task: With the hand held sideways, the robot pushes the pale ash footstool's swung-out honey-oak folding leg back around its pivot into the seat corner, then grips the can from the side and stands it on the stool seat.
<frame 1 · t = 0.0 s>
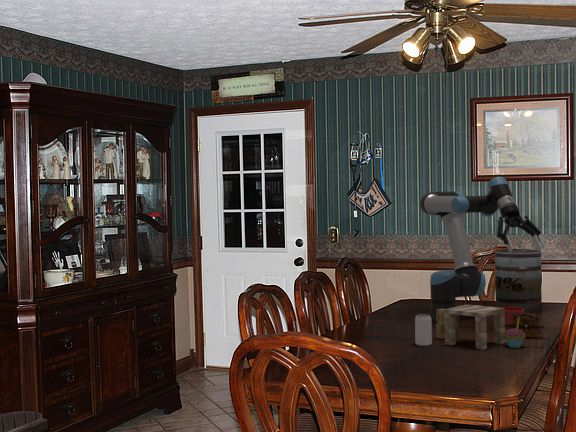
hand: (525, 249, 329), 36 cm above the table, tool tilted 35°, fingers open, 13 cm apart
can: (423, 344, 315), on the table
stool: (475, 343, 315), on the table
gate leg: (448, 325, 322), point 6 cm above the table, hinge at 65.0°
barrel: (518, 310, 399), on the table
cupcake: (514, 347, 307), on the table
flower pot: (511, 331, 342), on the table
wooden carving: (524, 337, 325), on the table
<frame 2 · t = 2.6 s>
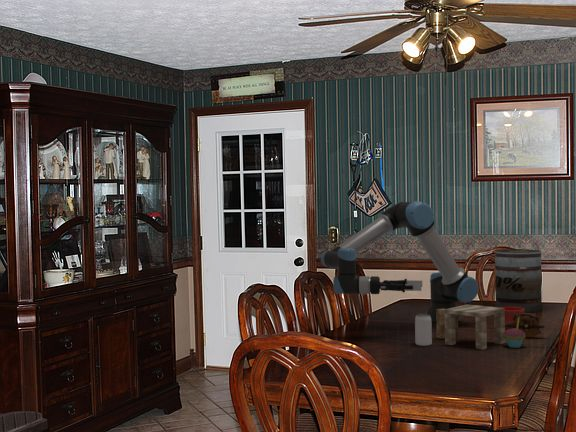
hand: (421, 285, 328), 22 cm above the table, tool horizontal, fingers open, 12 cm apart
nothing on the table moved.
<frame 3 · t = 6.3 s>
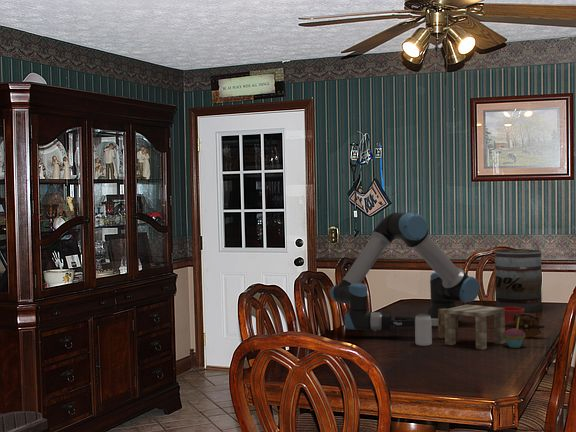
hand: (438, 322, 326), 7 cm above the table, tool horizontal, fingers closed
gate leg: (449, 325, 322), point 6 cm above the table, hinge at 60.3°, touching gripper
everything else where it was.
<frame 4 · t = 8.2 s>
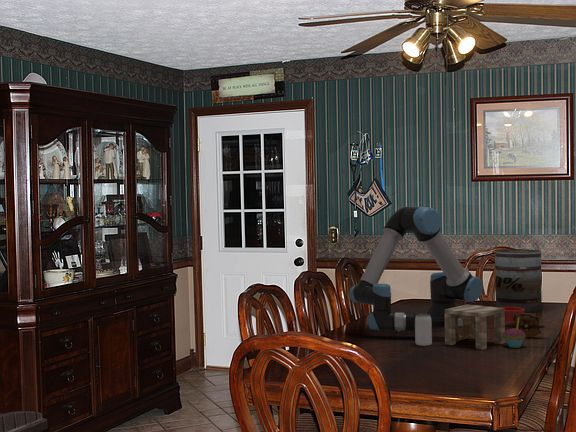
hand: (462, 322, 325), 7 cm above the table, tool horizontal, fingers closed on gate leg
gate leg: (462, 325, 321), point 6 cm above the table, hinge at 1.9°, touching gripper
everything else where it was.
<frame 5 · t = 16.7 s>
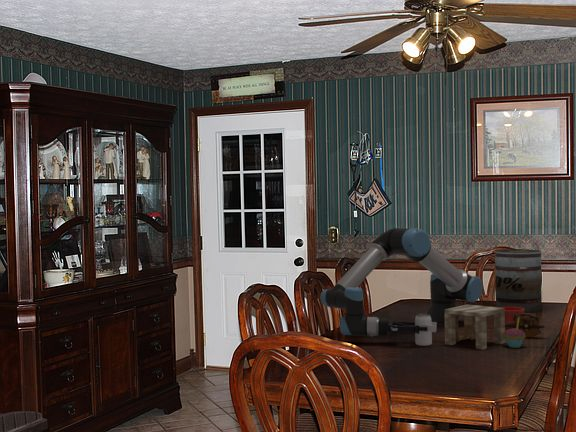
hand: (436, 327, 314), 7 cm above the table, tool horizontal, fingers open, 6 cm apart
can: (423, 344, 315), on the table, touching gripper
gate leg: (463, 325, 321), point 6 cm above the table, hinge at -4.4°
everything else where it was.
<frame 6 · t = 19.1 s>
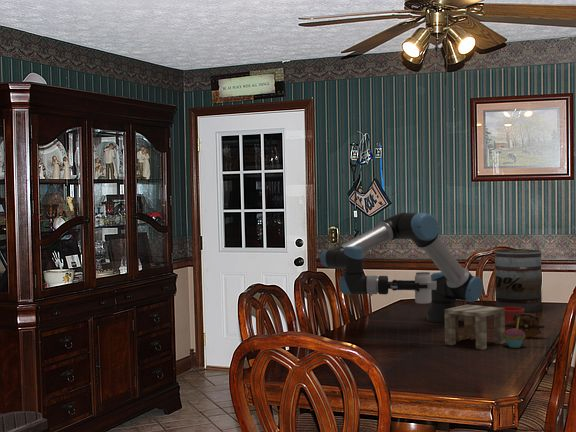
hand: (436, 285, 313), 24 cm above the table, tool horizontal, fingers closed on can, 6 cm apart
can: (423, 303, 314), point 17 cm above the table, touching gripper
everything else where it was.
when the fingers open (22 cm above the table, at t = 21.0 s): can drops 1 cm, resting on stool.
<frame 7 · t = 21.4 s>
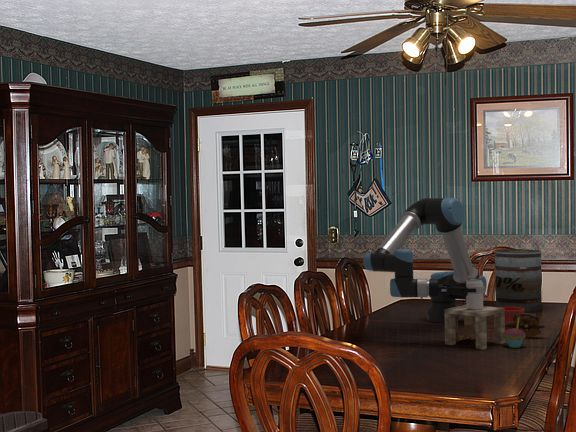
hand: (484, 288, 313), 22 cm above the table, tool horizontal, fingers open, 11 cm apart
can: (474, 309, 314), point 14 cm above the table, touching stool
everything else where it was.
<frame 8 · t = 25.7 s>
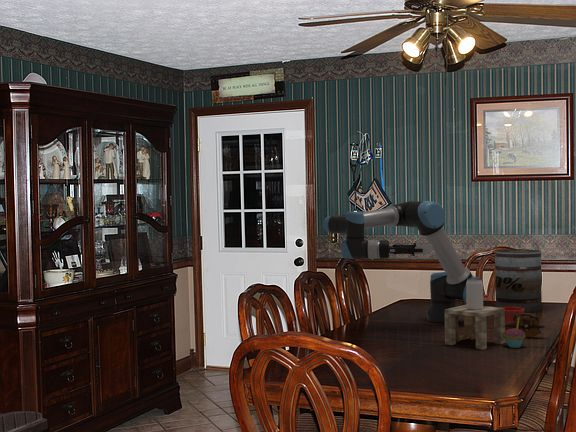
hand: (431, 249, 318), 38 cm above the table, tool horizontal, fingers open, 13 cm apart
nothing on the table moved.
at the end: gate leg at -4° (first picture: +65°); can inside the target area on the stool (0.4 cm from its centre), point 13.8 cm above the stool's base; can tilted 0° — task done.
